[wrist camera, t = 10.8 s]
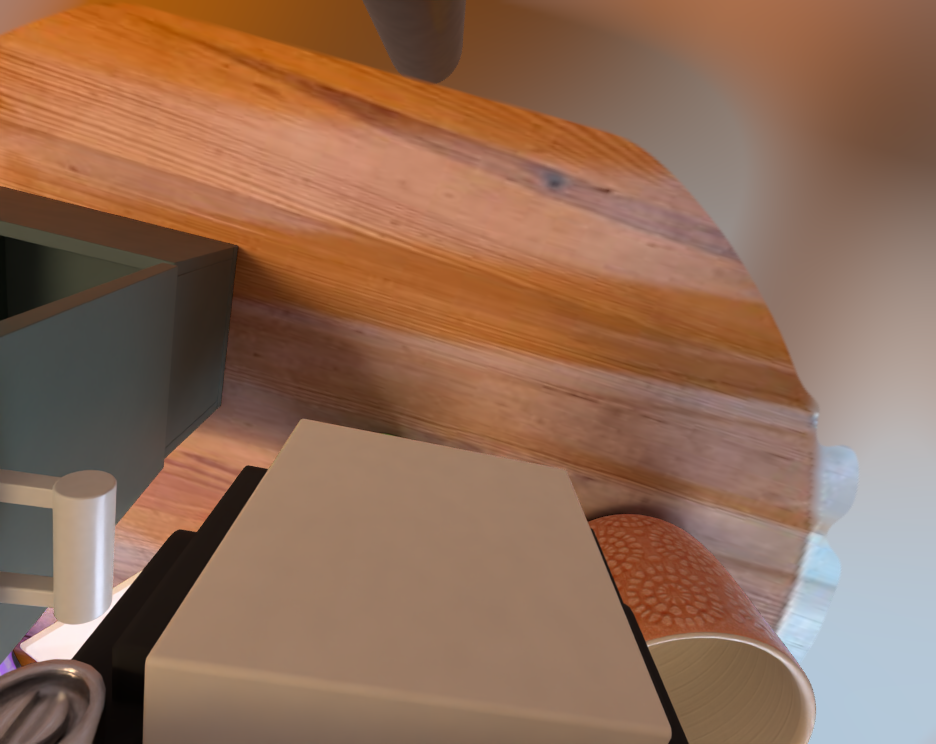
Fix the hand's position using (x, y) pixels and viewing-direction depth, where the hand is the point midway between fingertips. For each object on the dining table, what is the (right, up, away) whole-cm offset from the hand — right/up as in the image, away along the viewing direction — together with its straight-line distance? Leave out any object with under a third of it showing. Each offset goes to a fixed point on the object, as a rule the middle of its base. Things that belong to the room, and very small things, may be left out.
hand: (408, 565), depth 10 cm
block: (0, 0, 0) cm, 0 cm away
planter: (+14, -14, +37) cm, 42 cm away
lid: (-16, +1, +12) cm, 20 cm away
